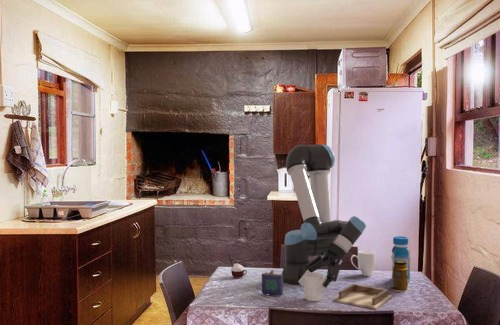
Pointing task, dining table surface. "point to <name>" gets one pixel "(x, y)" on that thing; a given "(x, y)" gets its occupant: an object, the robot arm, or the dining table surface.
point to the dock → (363, 296)
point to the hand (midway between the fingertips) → (308, 288)
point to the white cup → (312, 286)
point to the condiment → (400, 276)
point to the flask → (272, 283)
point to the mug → (365, 261)
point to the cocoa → (237, 269)
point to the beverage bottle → (401, 252)
